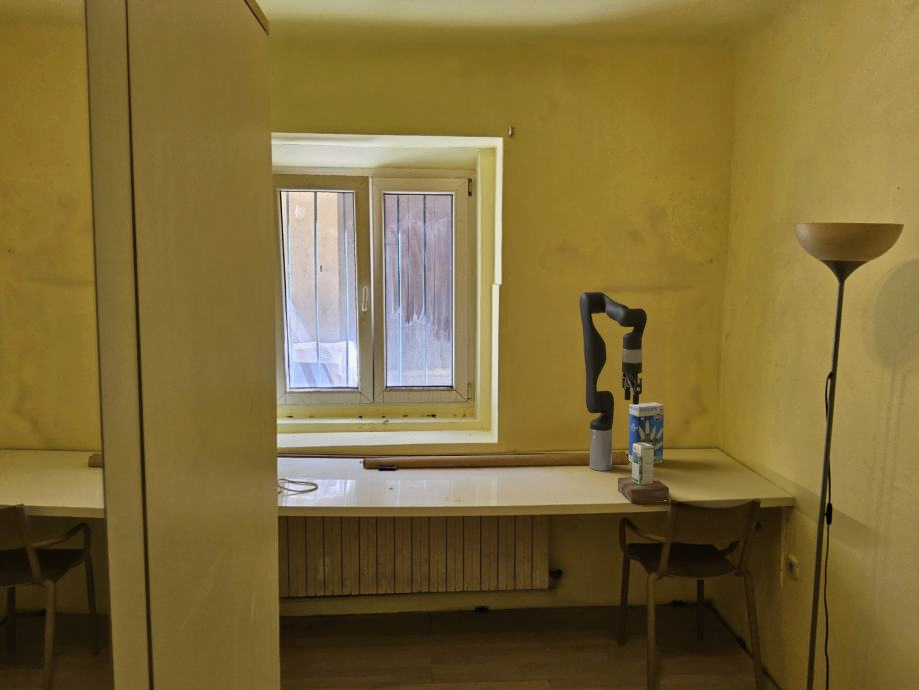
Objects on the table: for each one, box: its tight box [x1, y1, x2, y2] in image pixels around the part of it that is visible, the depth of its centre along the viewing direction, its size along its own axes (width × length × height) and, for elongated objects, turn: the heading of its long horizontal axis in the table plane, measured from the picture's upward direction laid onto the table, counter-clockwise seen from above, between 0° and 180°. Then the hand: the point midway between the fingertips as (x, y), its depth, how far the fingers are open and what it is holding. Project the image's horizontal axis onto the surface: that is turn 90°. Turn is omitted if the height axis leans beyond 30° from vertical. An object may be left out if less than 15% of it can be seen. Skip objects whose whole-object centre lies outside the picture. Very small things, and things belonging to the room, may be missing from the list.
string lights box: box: [628, 401, 665, 465], centre depth 283 cm, size 13×8×26 cm, turn 109°
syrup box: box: [631, 443, 654, 485], centre depth 241 cm, size 6×6×14 cm
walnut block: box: [617, 475, 670, 504], centre depth 241 cm, size 14×14×5 cm
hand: (631, 402), depth 250 cm, fingers open, 8 cm apart
